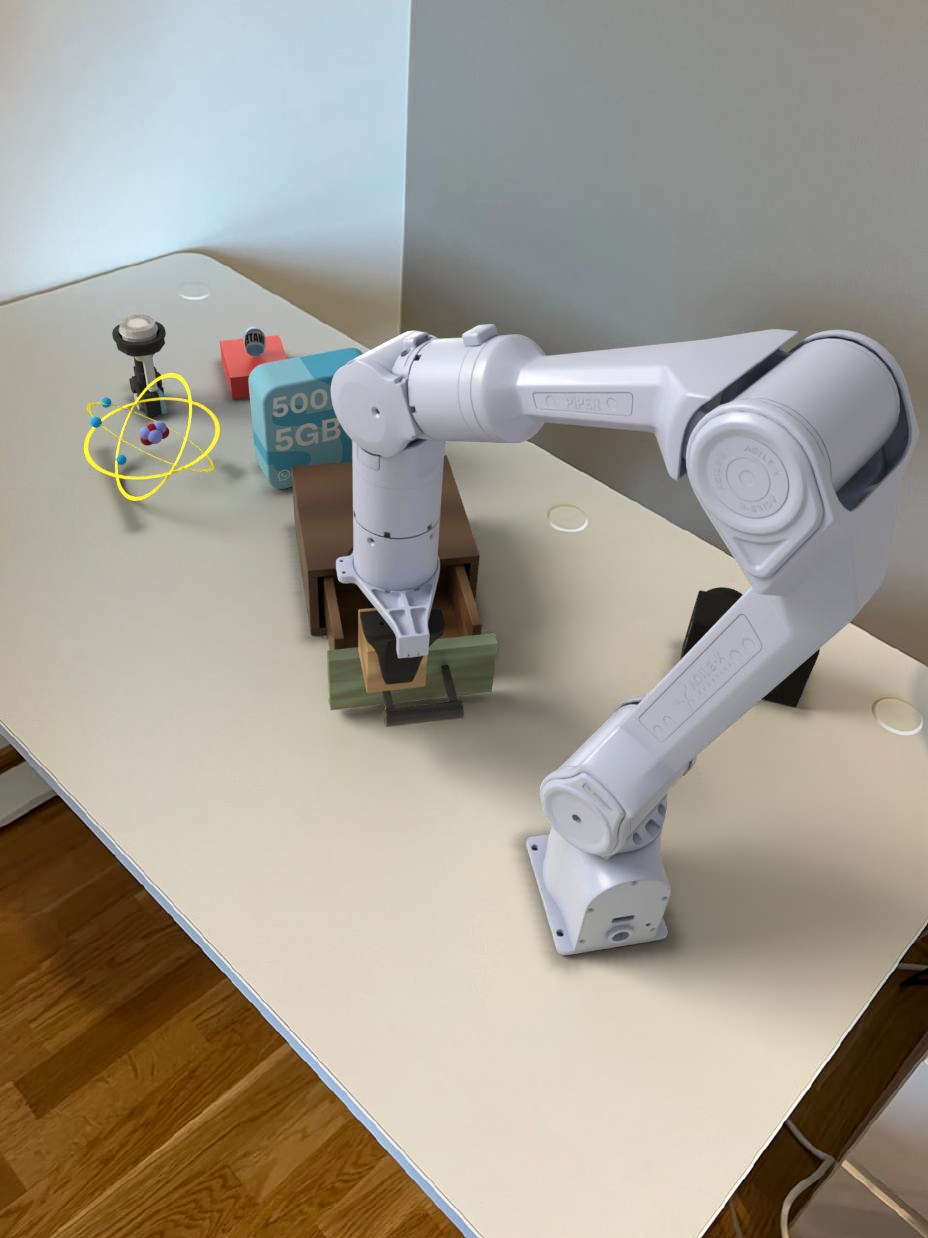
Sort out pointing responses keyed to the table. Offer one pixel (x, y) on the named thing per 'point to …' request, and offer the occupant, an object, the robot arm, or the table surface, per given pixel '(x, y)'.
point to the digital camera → (705, 617)
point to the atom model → (149, 436)
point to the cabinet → (330, 528)
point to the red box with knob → (248, 358)
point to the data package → (297, 414)
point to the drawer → (451, 662)
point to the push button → (143, 358)
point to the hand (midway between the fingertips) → (392, 654)
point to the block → (372, 666)
